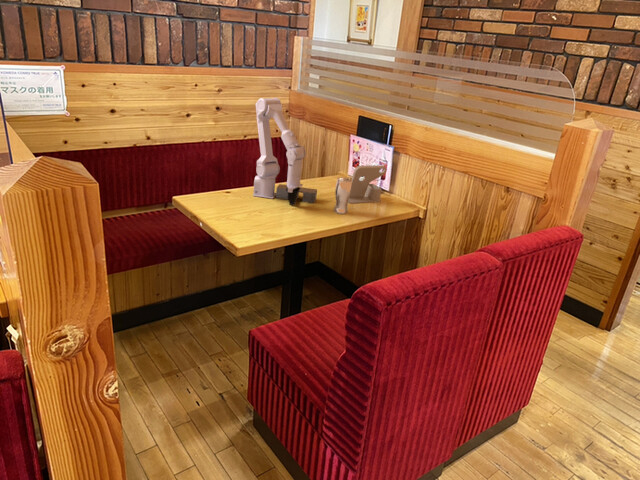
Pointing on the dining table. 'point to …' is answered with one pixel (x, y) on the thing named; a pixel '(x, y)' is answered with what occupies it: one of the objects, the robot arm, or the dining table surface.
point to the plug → (296, 199)
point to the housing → (308, 193)
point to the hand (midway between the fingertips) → (291, 203)
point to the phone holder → (366, 184)
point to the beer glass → (342, 194)
